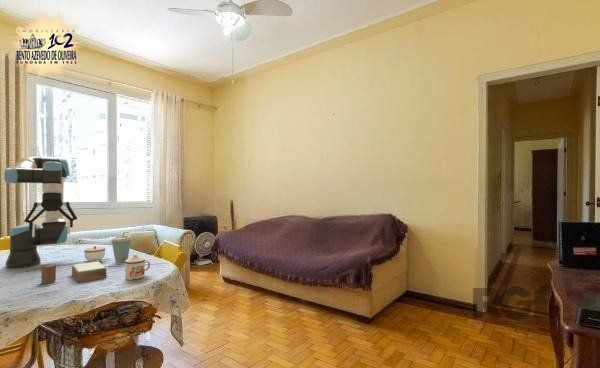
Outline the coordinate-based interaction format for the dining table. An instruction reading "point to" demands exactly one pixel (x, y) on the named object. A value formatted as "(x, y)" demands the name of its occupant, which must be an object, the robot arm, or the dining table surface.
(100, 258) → the lidded jar
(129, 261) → the teacup with lid
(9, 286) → the dining table surface
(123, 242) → the disposable coffee cup
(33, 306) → the dining table surface
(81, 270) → the walnut stand
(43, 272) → the wooden block
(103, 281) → the dining table surface
